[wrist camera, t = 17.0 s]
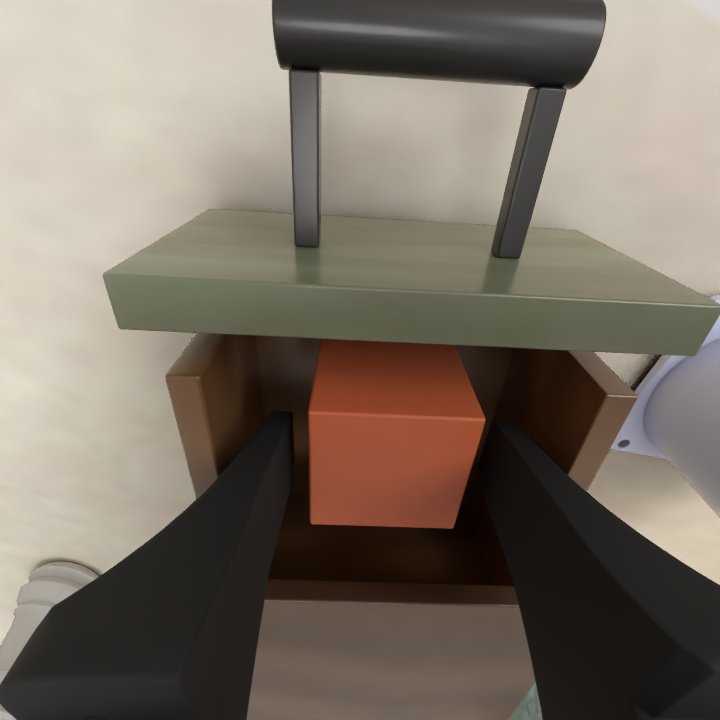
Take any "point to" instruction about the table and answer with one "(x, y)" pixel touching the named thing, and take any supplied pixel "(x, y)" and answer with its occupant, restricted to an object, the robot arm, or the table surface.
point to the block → (390, 434)
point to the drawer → (408, 285)
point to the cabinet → (389, 652)
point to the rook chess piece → (39, 607)
